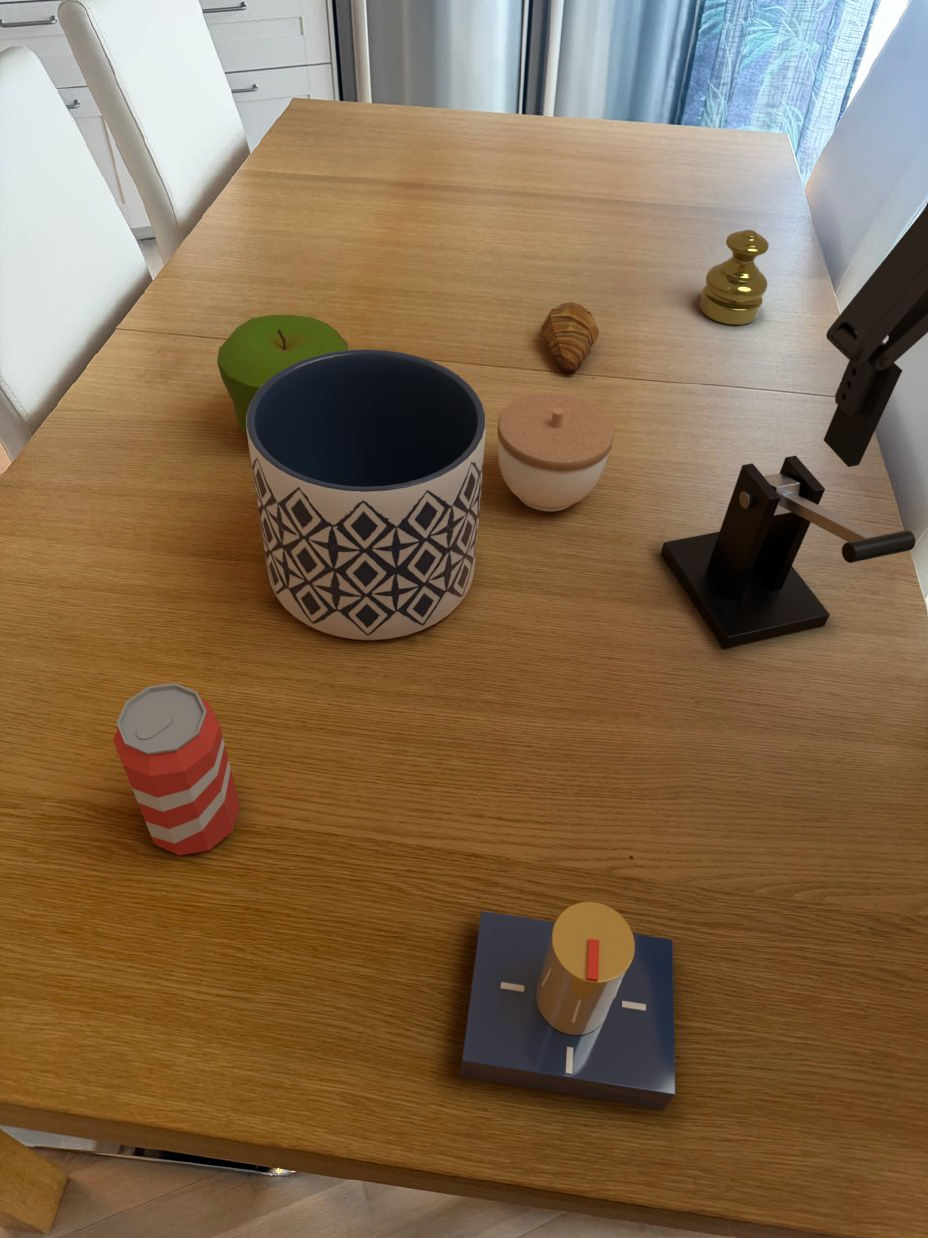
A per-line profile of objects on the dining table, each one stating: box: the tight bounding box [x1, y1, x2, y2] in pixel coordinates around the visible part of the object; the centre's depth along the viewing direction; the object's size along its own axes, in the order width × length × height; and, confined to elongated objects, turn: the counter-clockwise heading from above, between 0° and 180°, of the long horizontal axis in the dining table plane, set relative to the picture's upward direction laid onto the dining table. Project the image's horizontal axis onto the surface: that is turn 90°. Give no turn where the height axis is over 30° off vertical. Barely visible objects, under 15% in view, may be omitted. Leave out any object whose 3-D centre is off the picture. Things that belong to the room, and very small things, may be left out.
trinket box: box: [496, 392, 615, 513], centre depth 87 cm, size 11×11×9 cm
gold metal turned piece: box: [699, 229, 770, 326], centre depth 112 cm, size 7×7×10 cm
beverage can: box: [112, 682, 241, 856], centre depth 60 cm, size 6×6×12 cm
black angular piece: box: [660, 455, 831, 650], centre depth 78 cm, size 12×10×13 cm
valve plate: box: [459, 910, 676, 1111], centre depth 56 cm, size 12×9×3 cm
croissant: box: [540, 301, 600, 375], centre depth 107 cm, size 14×7×5 cm, turn 175°
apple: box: [216, 314, 350, 437], centre depth 91 cm, size 12×12×11 cm
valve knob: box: [536, 901, 635, 1035], centre depth 52 cm, size 4×4×8 cm
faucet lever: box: [763, 472, 916, 564], centre depth 70 cm, size 14×5×2 cm, turn 18°
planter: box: [246, 348, 487, 641], centre depth 76 cm, size 18×18×16 cm
